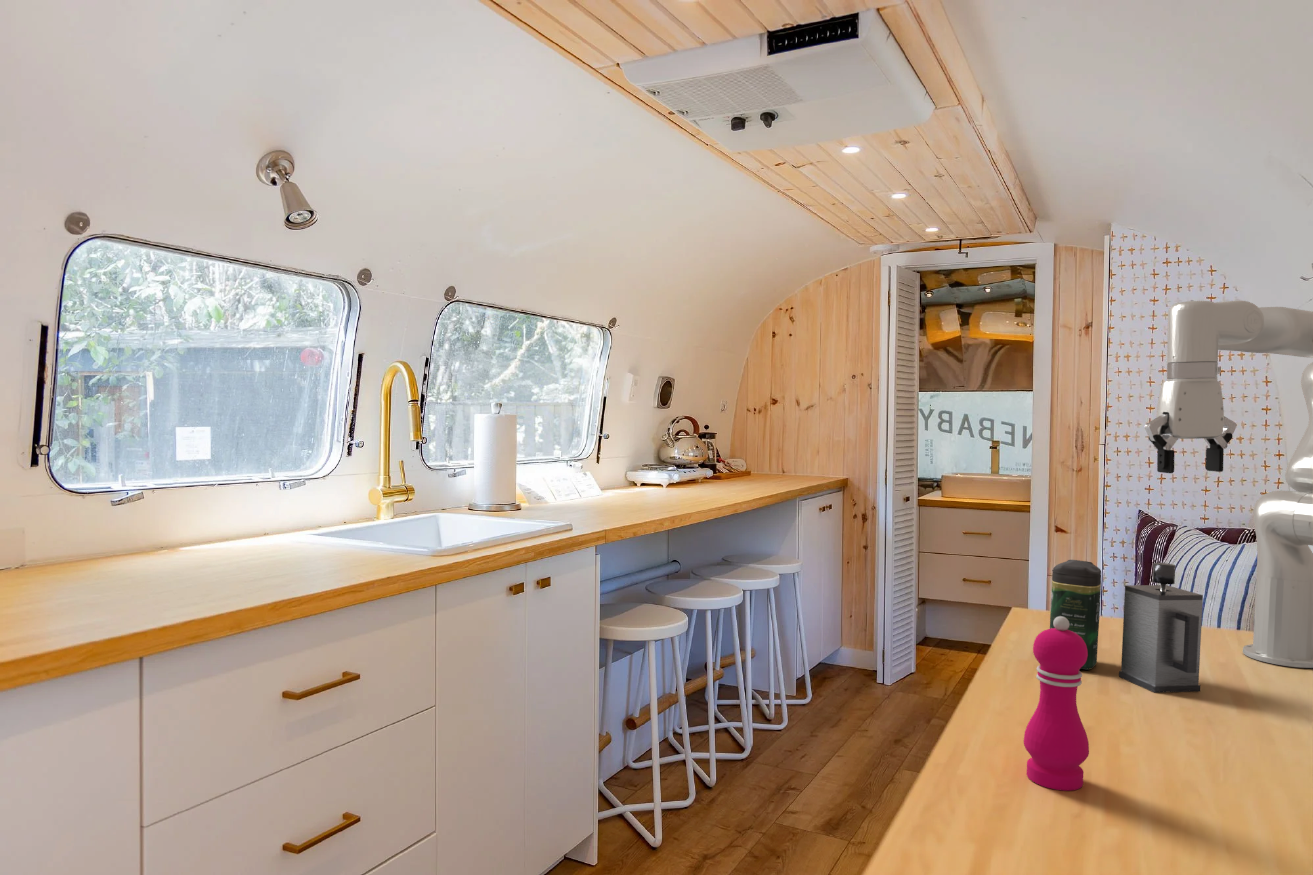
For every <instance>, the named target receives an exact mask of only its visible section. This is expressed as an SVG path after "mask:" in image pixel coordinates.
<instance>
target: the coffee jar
mask: <svg viewBox="0 0 1313 875" xmlns="http://www.w3.org/2000/svg"><path fill="white" fill-rule="evenodd" d="M1101 590H1102V569H1101V568H1099V567H1098V566H1096V565H1095V564H1094V563H1093V562H1091V561H1086V560H1079V559H1067V560H1066V561H1064V562H1061V563H1058V564H1056V565H1054V567H1053V569H1052V574H1051V592H1050V593H1051V597H1050V612H1049V629H1051V628H1055V627H1054V625H1053V621H1054V619H1055V618H1056V617H1059V616H1062V617H1065V618H1066V619H1067V620H1068V621H1069V628H1068V629H1067V630H1070V631H1072V632H1074V633H1076V634H1078V635H1079V636H1080V637H1081V638H1082V639H1083V640H1084V642H1085V644H1086V646H1087V651H1088V656H1087V661H1086V663H1085V664H1084V665H1083V666H1082V667H1081V668H1080V669H1079V670H1085V671H1086V670H1087V671H1088V670H1092V669H1093V668H1094V667H1095V666H1096V664H1097V662H1098V645H1099V628H1100V618H1101V617H1100V615H1101V614H1100V611H1101V594H1102V593H1101V592H1102V591H1101Z"/></svg>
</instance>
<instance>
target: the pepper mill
mask: <svg viewBox="0 0 1313 875" xmlns="http://www.w3.org/2000/svg"><path fill="white" fill-rule="evenodd" d="M1053 625H1054V627H1055V628H1051V629H1050V628H1047V629H1044V630H1042V631H1041V632H1039V633H1038V635H1036V636H1035V639H1034V641H1033V645H1032V654H1033V655H1034V658H1035V659H1036V661H1037V662H1038V663H1039V665H1037V667H1036V672H1037V673H1036V676H1035V678H1036V679H1037V680H1038V681H1039V689H1040V690H1039V699H1038V702H1037V703H1038V704H1037V706H1036V708H1035V710H1034V713H1033V714H1032V716H1031V717H1030V719H1029V721H1028V723H1027V725H1026V728H1025V730H1024V735H1023V745H1024V749H1025V750H1026V751H1027V752H1028V754H1029V756H1030V758H1029V759H1027V761H1026V777H1027V778H1028V780H1030V781H1031V780H1032V781H1031V782H1032V783H1034V782H1035V783H1034V784H1036V785H1038V784H1039V785H1038V786H1041V787H1043V788H1047V789H1051V790H1056V791H1064V792H1065V791H1067V792H1068V791H1070V792H1071V791H1077V790H1080V789H1081V788H1082V787H1083V785H1084V769H1083V768H1082V767H1081V766H1080V765H1082V764H1083V763H1084V762H1085V761H1086V760H1087V759H1088V757H1089V755H1090V746H1089V745H1090V744H1089V738H1088V735H1087V731H1086V729H1085V727H1084V725H1083V722H1082V719H1081V716H1080V714H1079V710H1078V705H1077V704H1078V703H1077V694H1078V693H1077V692H1078V687H1079V686H1081V685H1082V682H1083V681H1082V677H1083V673H1082V672H1081V671H1080V670H1081V669H1080V668H1081V667H1082V666H1083V665H1084V664H1085V663H1086V661H1087V656H1088V651H1087V646H1086V644H1085V642H1084V640H1083V639H1082V638H1081V637H1080V636H1079V635H1078V634H1076V633H1074V632H1072V631H1070V630H1067V629H1068V628H1069V621H1068V620H1067V619H1066V618H1065V617H1062V616H1059V617H1056V618H1055V619H1054V621H1053Z"/></svg>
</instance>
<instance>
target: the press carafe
mask: <svg viewBox="0 0 1313 875" xmlns="http://www.w3.org/2000/svg"><path fill="white" fill-rule="evenodd" d="M1160 587H1161V584H1159V585H1155V584H1154V585H1153V584H1152V585H1151V584H1148V585H1145V584H1144V585H1143V584H1141V585H1140V584H1138V585H1136V584H1135V585H1134V584H1133V585H1132V584H1131V585H1125V584H1124V598H1123V599H1124V600H1123V601H1124V602H1123V623H1122V645H1121V662H1120V664H1121V666H1120V670H1118V677H1119V678H1121V679H1123V680H1125V681H1128V682H1130V683H1132V684H1134V685H1136V686H1139V687H1141V688H1142V689H1145V690H1148V691H1150V692H1152V693H1155V694H1157V693H1189V692H1192V693H1194V692H1201V684H1200V683H1199V681H1200V663H1201V662H1200V661H1201V660H1200V659H1201V642H1202V641H1201V640H1202V623H1203V621H1202V619H1203V603H1204V602H1203V600H1204V595H1203V594H1200V593H1196V592H1193V591H1189V590H1186V589H1182V588H1178V587H1176V586H1175V587H1174V586H1171V585H1169V584H1166V591H1160Z"/></svg>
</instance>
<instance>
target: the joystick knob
mask: <svg viewBox="0 0 1313 875" xmlns="http://www.w3.org/2000/svg"><path fill="white" fill-rule="evenodd" d="M1152 565H1153V567H1152V582H1153V583H1154V584H1155V583H1156V584H1159V585H1161V587H1160V591H1166V585H1174V584H1176V583H1175V582H1176V565H1175V564H1172V563H1168V562H1167V563H1166V562H1153V564H1152Z"/></svg>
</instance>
